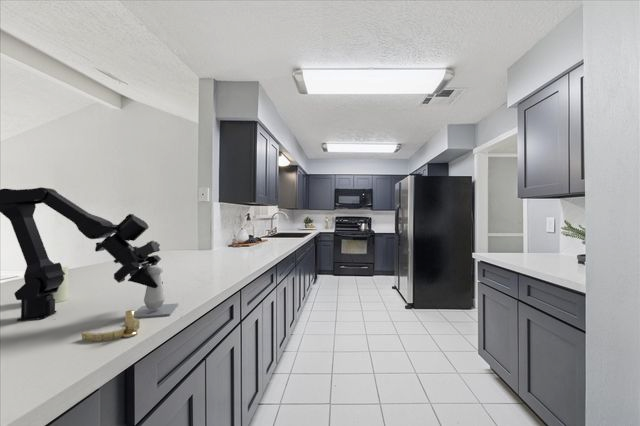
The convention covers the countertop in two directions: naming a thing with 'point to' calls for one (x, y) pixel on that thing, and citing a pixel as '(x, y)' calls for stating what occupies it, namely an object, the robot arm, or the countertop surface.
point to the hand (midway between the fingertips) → (159, 285)
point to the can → (62, 288)
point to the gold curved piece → (127, 332)
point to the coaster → (155, 311)
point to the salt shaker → (154, 289)
